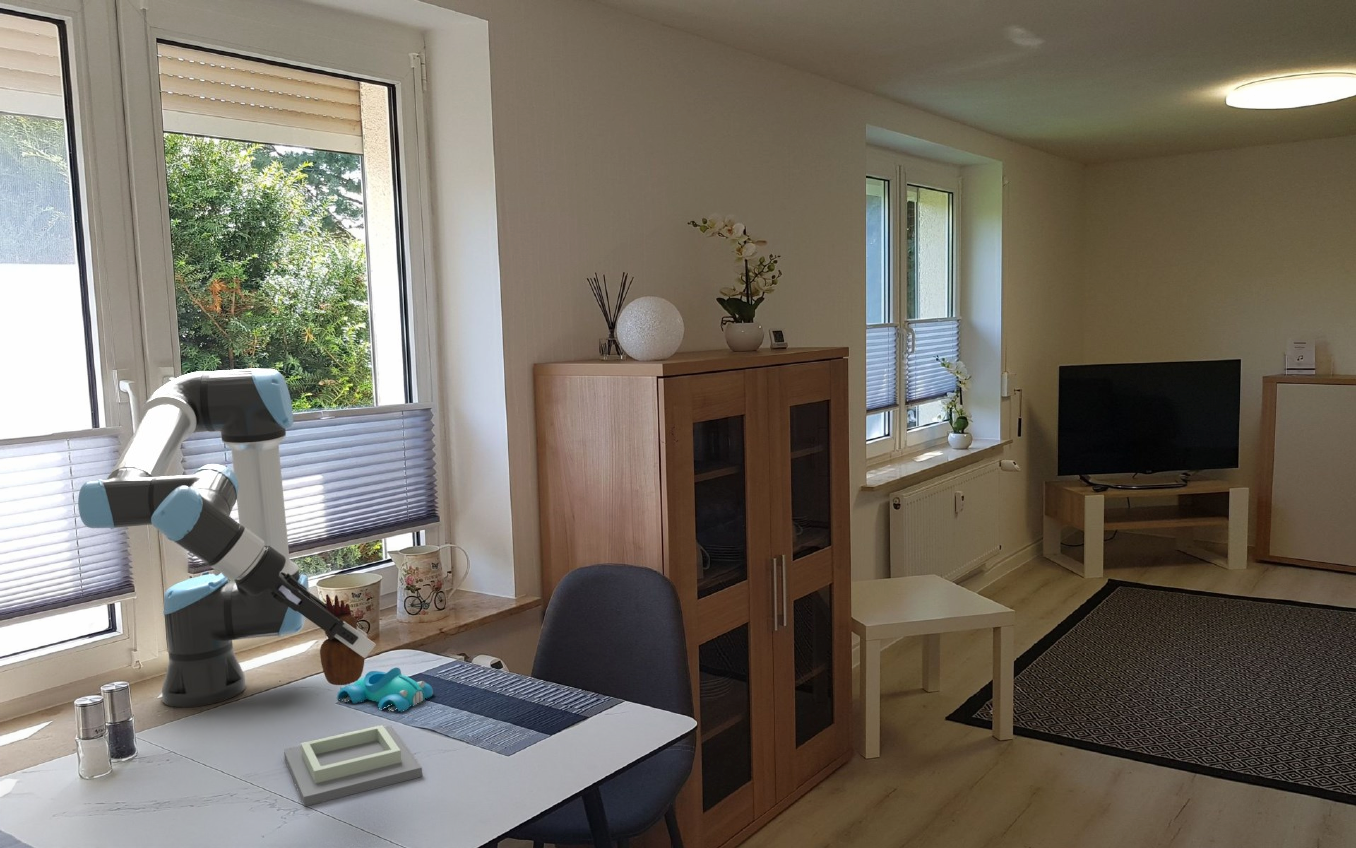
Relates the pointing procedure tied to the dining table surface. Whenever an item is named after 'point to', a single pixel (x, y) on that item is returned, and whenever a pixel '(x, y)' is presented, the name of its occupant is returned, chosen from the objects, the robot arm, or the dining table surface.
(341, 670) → the wooden figurine
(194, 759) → the dining table surface
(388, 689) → the toy car
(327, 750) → the jig plate
